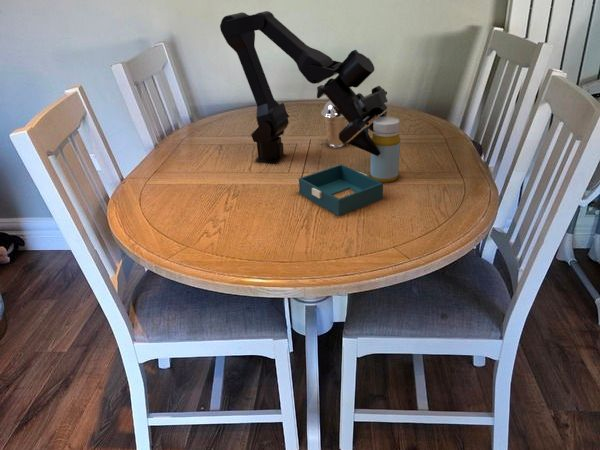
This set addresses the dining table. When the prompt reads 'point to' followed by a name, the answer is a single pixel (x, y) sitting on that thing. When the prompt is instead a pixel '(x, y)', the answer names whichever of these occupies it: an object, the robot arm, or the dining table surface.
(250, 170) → the dining table surface
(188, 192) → the dining table surface
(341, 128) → the cup with straw
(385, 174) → the bottle
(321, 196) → the teal square tray
